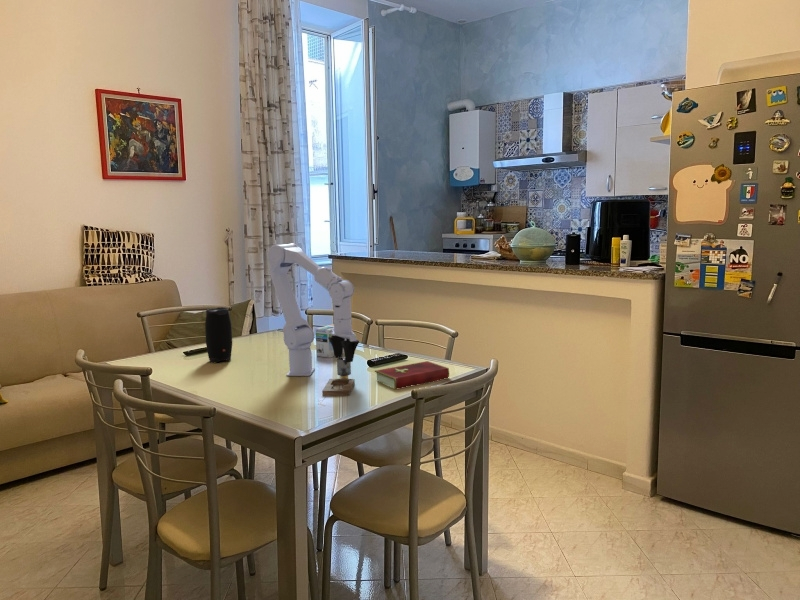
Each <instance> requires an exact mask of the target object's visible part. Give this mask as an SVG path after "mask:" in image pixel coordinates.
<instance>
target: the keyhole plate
mask: <svg viewBox="0 0 800 600" xmlns="http://www.w3.org/2000/svg"><path fill="white" fill-rule="evenodd" d="M355 381H356V380H355V378H348V379H340V378H329V379H328V380H327V382H326V384H325V386H324V387H323V389H321V390H322V391H321V392H322V396H323V397H324V396H325V397H327V396H328V397H331V396H332V397H346V396H347V397H348V396H350V395H351V393H352V391H351V390H353V388H354V386H355ZM334 386H343V387H342V388H334Z"/></svg>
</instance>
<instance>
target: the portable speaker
mask: <svg viewBox="0 0 800 600" xmlns="http://www.w3.org/2000/svg"><path fill="white" fill-rule="evenodd" d="M205 313H206V314H205V322H204V325H205V326H204V327H205V328H204V329H205V344H206V350H207V357H208V360H209V362H210V363H211V362H220V361H226V362H230V361H232V359H231V358H232V352H233V329H232V328H233V327H232V320H231V315H230V312H229V309H228V307H225V306H224V307H223V306H221V307H220V306H219V307H217V308H206V311H205ZM229 360H230V361H229Z"/></svg>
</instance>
